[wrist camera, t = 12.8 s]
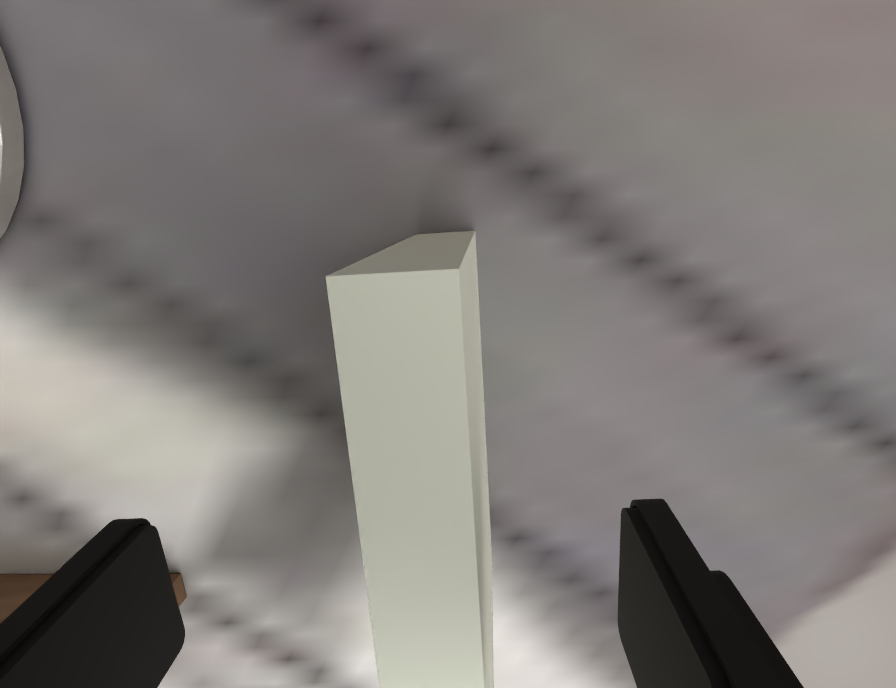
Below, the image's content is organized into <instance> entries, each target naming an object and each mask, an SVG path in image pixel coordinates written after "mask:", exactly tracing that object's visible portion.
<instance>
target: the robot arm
mask: <svg viewBox="0 0 896 688" xmlns="http://www.w3.org/2000/svg"><path fill="white" fill-rule="evenodd" d="M23 169H24V138H23V124H22V119H21V114H20V108H19V103H18V98H17V92H16V88H15V85H14V82H13V80H12V77H11V74H10V71H9V68H8V65H7V62H6V60H5V57H4V54H3V51H2V48H1V46H0V238H1V237H2V236H3V234H4V233H5V231H6V230H7V228H8V225H9V223H10V220H11V217H12V215H13V212H14V210H15V207H16V205H17V202H18V199H19V193H20V187H21V181H22V175H23ZM618 628H619V633H620V638H621V641H622V644H623V647H624V650H625V653H626V656H627V659H628V662H629V665H630V668H631V671H632V674H633V676H634V679H635V682H636V685H637V688H803V686H802V685H801V683H800V682H799V680H798V679H797V677H796V676H795V674H794V673H793V671H792V670H791V668H790V667H789V665H788V664H787V662H786V661H785V659H784V658H783V656H782V655H781V653H780V652H779V650H778V649H777V648H776V646H775V645H774V643H773V642H772V640H771V639H770V637H769V636H768V634H767V633H766V631H765V630H764V628H763V627H762V625H761V624H760V622H759V621H758V619H757V618H756V616H755V615H754V613H753V612H752V611H751V609H750V608H749V606H748V605H747V603H746V602H745V600H744V599H743V597H742V596H741V594H740V593H739V591H738V590H737V588H736V587H735V585H734V584H733V582H732V581H731V580H730V578H729V577H728V576H727V575H726V574H725V573H724V572H722V571H710V570H709V569H708V567H707V566H706V564H705V563H704V561H703V559H702V558H701V556H700V555H699V553H698V552H697V550H696V548H695V547H694V545H693V544H692V542H691V541H690V539H689V537H688V536H687V534H686V533H685V531H684V530H683V528H682V526H681V525H680V523H679V522H678V520H677V519H676V517H675V515H674V514H673V512H672V511H671V509H670V508H669V506H668V504H667V503H666V502H665V500H663V499H642V500H633V501H632V502H631V505H630V508H623V509H622V511H621V533H620V563H619V593H618ZM184 638H185V628H184V625H183V621H182V617H181V614H180V610H179V606H178V603H177V599H176V595H175V592H174V588H173V584H172V581H171V577H170V574H169V570H168V566H167V563H166V559H165V555H164V552H163V548H162V544H161V541H160V537H159V534H158V531H157V528H156V527H155V526H152V525H151V524H150V522H149V521H148V520H147V519H143V518H138V519H117V520H113V521H111V522H110V523H108V524H107V525H106V526H105V527H104V528H103V529H102V530H101V531H100V532H99V533H98V534H97V535H96V536H94V537H93V538H92V539H91V540H90V541H89V542H88V543H87V544H86V545H85V546H84V547H83V548H81V549H80V550H79V551H78V552H77V553H76V554H75V555H74V556H73V557H72V558H71V559H70V560H69V561H67V562H66V563H65V564H64V565H63V566H62V567H61V568H60V569H59V570H58V571H57V572H56V573H54V574H53V575H52V576H51V577H50V578H49V579H48V580H47V581H46V582H45V583H44V584H43V585H42V586H40V587H39V588H38V589H37V590H36V591H35V592H34V593H33V594H32V595H31V596H30V597H29V598H27V599H26V600H25V601H24V602H23V603H22V604H21V605H20V606H19V607H18V608H17V609H16V610H15V611H13V612H12V613H11V614H10V615H9V616H8V617H7V618H6V619H5V620H4V621H3V622H2V623H0V688H157V687H158V686H159V684H160V682H161V681H162V679H163V678H164V676H165V674H166V673H167V671H168V670H169V668H170V666H171V665H172V663H173V662H174V660H175V658H176V657H177V655H178V654H179V652H180V650H181V648H182V646H183V643H184Z"/></svg>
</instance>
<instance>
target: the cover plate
mask: <svg viewBox="0 0 896 688" xmlns="http://www.w3.org/2000/svg"><path fill="white" fill-rule="evenodd" d="M326 284H327V291H328V299H329V306H330V314H331V322H332V329H333V337H334V344H335V352H336V360H337V367H338V375H339V383H340V390H341V398H342V405H343V413H344V421H345V428H346V436H347V444H348V451H349V459H350V466H351V474H352V482H353V489H354V497H355V505H356V512H357V520H358V527H359V535H360V543H361V550H362V558H363V566H364V573H365V581H366V588H367V596H368V604H369V611H370V619H371V626H372V634H373V642H374V649H375V657H376V665H377V672H378V680H379V687H380V688H494V681H493V597H492V549H491V530H490V510H489V491H488V471H487V451H486V432H485V412H484V393H483V373H482V354H481V334H480V315H479V295H478V276H477V256H476V236H475V231H461V232H446V233H430V234H416V235H414V236H412V237H409V238H407V239H405V240H403V241H401V242H399V243H396V244H394V245H392V246H390V247H388V248H386V249H384V250H381V251H379V252H377V253H375V254H373V255H371V256H368V257H366V258H364V259H362V260H360V261H358V262H355V263H353V264H351V265H349V266H347V267H345V268H343V269H340V270H338V271H336V272H334V273H332V274H330V275H327V276H326Z"/></svg>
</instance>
